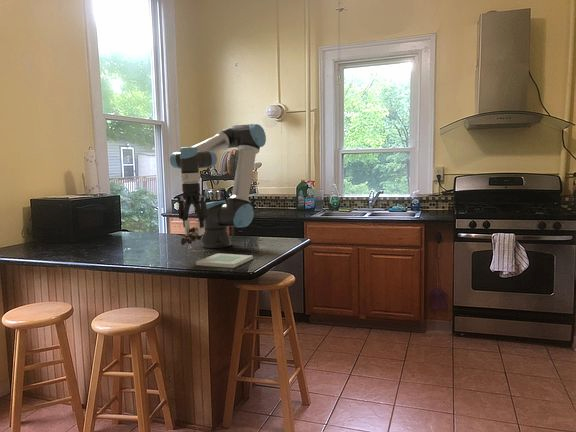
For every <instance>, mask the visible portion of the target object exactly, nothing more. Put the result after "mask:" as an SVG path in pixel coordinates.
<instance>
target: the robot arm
mask: <svg viewBox="0 0 576 432" xmlns="http://www.w3.org/2000/svg"><path fill="white" fill-rule="evenodd" d="M266 141H267V135H266V132H265V129H264V127H263V126H261V125H260V124H257V123H250V124H240V125H239V124H236V125H232V126H229V127H227V128H224V129H222V130H220V131H217V132H216V133H215V134H214V135H213V136H212V137H209V138H207V139H206V140H204V141H203V140H202V141H201V142H199V143H197V144H195V145H192V146H184V147H183V146H182V147H180V150H179V151H176V152H172V153H171V155H170V157H169V163H170V165H171V166H172V167H173V168H175V169H179V170H180V171H181V182H182V185H181V187H182V188H181V189H182V192H183V193H182V195H180V196H177V201H178V219H179V220H182V222H183V223H182V224H183V228H184V235H185V236H188V235H189V234H191V233H190V232H189V229H191V226H190V225H191V223H190V219H189V213H190V209H191V205H192V206H193V207H194V210H195V212H196V216H197V218H198V220H197V228H198V236H201V235H202V238H201V247H202V248H206V249H219V248H228V247H230V246H232V240H231V237H230V235H229V232H228V227H229V228H230V227H232V228H246V227H248V226H249V225H250V224H252V221H253V218H254V216H255V211H254V207H253V205H251V203H252V202H251V201H250V199H249V196H250V190H251V186H252V185H251V184H252V179H253V174H254V169H255V167H254V166H255V161H256V155H258V153H260V148H262V147H264V145H266ZM232 148H234V149H235V148H237V149H236V150H237V151H238V158H237V162H236V163H237V164H236V168H235V169H236V170H235V175H234V180H233V185H232V191H231V195H230V197H228V198H227V201H226V200H219V201H217V200H216V201H211V202H207V196H206V195H205V196H203V195H201V185H200V180H201V179H200V169H210V168H214V167H215V166H216V164H217V162H218V156H217V155H216V154H217V152H219V151H225V150H228V149H232Z"/></svg>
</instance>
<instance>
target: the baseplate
mask: <svg viewBox="0 0 576 432" xmlns="http://www.w3.org/2000/svg"><path fill="white" fill-rule="evenodd" d="M253 259H254V255H251V254H250V255H248V254H234V253H214V254H213V255H210V256H207V257H204V258H202V259H200V260H196V261H195V265H196V266H200V267H201V266H203V267H214V268H215V267H217V268H218V267H219V268H230V269H234V268H237V267H239V266H241V265H243V264H245V263H247V262H250V261H251V260H253Z"/></svg>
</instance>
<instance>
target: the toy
mask: <svg viewBox="0 0 576 432" xmlns="http://www.w3.org/2000/svg"><path fill="white" fill-rule="evenodd" d="M189 232H190V234H189V235H185V236H183V237H181V241H180V243H181V245H182V246H184V245H186V244H189V245H192V243H193V242H194V243H195V242H196V241H197V240H198V241H200V240H202V238H203V235H201V236H198V226H193V227H190V229H189Z"/></svg>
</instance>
